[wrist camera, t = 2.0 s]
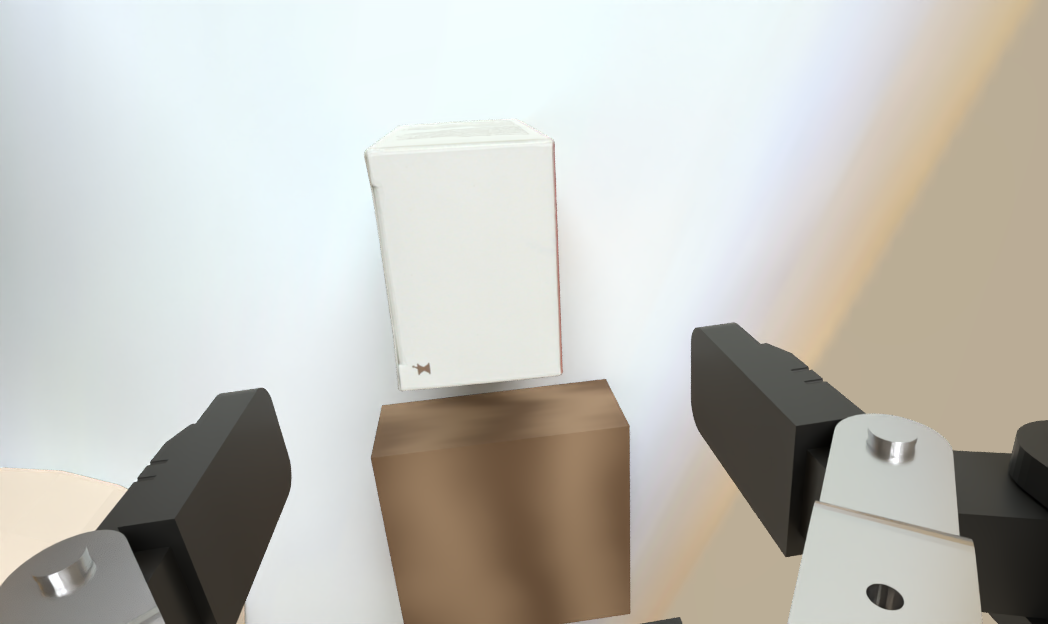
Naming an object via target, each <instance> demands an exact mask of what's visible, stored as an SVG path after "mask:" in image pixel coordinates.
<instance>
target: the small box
mask: <svg viewBox="0 0 1048 624" xmlns="http://www.w3.org/2000/svg"><path fill="white" fill-rule="evenodd" d="M364 157H365V162H366V167H367V171H368V176H369V181H370V186H371V191H372V196H373V202H374V209H375V215H376V221H377V227H378V234H379V241H380V248H381V255H382V261H383V268H384V275H385V281H386V288H387V295H388V303H389V310H390V317H391V324H392V331H393V338H394V348H395V358H396V368H397V378H398V389H399V390H400V391H409V390H420V389H432V388H442V387H453V386H463V385H473V384H483V383H493V382H503V381H514V380H524V379H533V378H542V377H550V376H560V375H561V374H562V373H563V369H562V344H561V313H560V285H559V257H558V230H557V204H556V174H555V142H554V141H553V139H552V138H550V137H548V136H547V135H545V134H543V133H541V132H539V131H538V130H536V129H534V128H532V127H531V126H529V125H527V124H525V123H524V122H522V121H520V120H518V119H496V120H477V121H460V122H444V123H429V124H415V125H401V126H398V127H396V128H395V129H394V130H392V131H391V132H389V133H388V134H386V135H385V136H384V137H383V138H381V139H380V140H378V141H377V142H376V143H374V144H373V145H372V146H370V147H369V148H368V149H366V150H365V153H364Z"/></svg>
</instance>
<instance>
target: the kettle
mask: <svg viewBox="0 0 1048 624" xmlns="http://www.w3.org/2000/svg"><path fill="white" fill-rule="evenodd" d="M127 490H128V489H127V488H124V487H122V486H120V485H118V484H114V483H110V482H106V481H101V480H97V479H93V478H89V477H85V476H81V475H77V474H73V473H69V472H65V471H58V470H39V469H20V468H0V586H1V585H2V583H3V582H4V581H5V580H6V579H7V577H8V576H9V575H10V574H11V573H12V572H13V571H14V570H16V569H17V568H18V567H19V566H20V565H22V564H23V563H24V562H25V561H27V560H28V559H30V558H31V557H33V556H34V555H36V554H37V553H39V552H41V551H42V550H44V549H46V548H48V547H50V546H52V545H54V544H56V543H58V542H60V541H62V540H65V539H67V538H70V537H73V536H75V535H78V534H82V533H86V532H90V531H95V530H96V529H97V528H98V526H99V525H100V524H101V523H102V521H103V520H104V519H105V518H106V516H107V515H108V514H109V513H110V511H111V510H112V509H113V508H114V506H115V505H116V504H117V503H118V501H119V500H120V499H121V498H122V496H123V495H124V494H125V493H126V491H127ZM236 624H245V612H244V606H243V609H242V611H241V613H240V616H239V618H238V621H237V623H236Z"/></svg>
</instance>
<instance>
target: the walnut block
mask: <svg viewBox="0 0 1048 624" xmlns="http://www.w3.org/2000/svg"><path fill="white" fill-rule="evenodd" d="M371 461H372V466H373V471H374V476H375V481H376V486H377V491H378V496H379V501H380V506H381V511H382V516H383V521H384V526H385V531H386V536H387V541H388V546H389V551H390V556H391V561H392V566H393V571H394V576H395V581H396V586H397V591H398V596H399V601H400V606H401V611H402V616H403V621H404V624H565V623H571V622H578V621H585V620H592V619H598V618H605V617H612V616H618V615H625V614H630V437H629V424H628V422H627V420H626V418H625V416H624V414H623V412H622V410H621V408H620V406H619V404H618V402H617V400H616V398H615V396H614V394H613V392H612V391H611V389H610V387H609V385H608V383H607V381H606V379H602V380H593V381H585V382H576V383H568V384H559V385H551V386H542V387H534V388H526V389H517V390H509V391H500V392H492V393H483V394H475V395H466V396H458V397H449V398H441V399H432V400H424V401H415V402H407V403H398V404H390V405H382V408H381V413H380V418H379V422H378V427H377V432H376V437H375V441H374V446H373V451H372V455H371Z"/></svg>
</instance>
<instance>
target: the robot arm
mask: <svg viewBox="0 0 1048 624" xmlns="http://www.w3.org/2000/svg"><path fill="white" fill-rule="evenodd" d="M691 406H692V412H693V417H694V420H695V423H696V426H697V428H698V430H699V432H700V434H701V435H702V437H703V438H704V440H705V441H706V443H707V444H708V445H709V447H710V448H711V450H712V451H713V453H714V454H715V456H716V457H717V458H718V460H719V461H720V463H721V464H722V466H723V467H724V469H725V470H726V471H727V473H728V474H729V476H730V477H731V479H732V480H733V482H734V483H735V484H736V486H737V487H738V489H739V490H740V492H741V493H742V495H743V496H744V497H745V499H746V500H747V502H748V503H749V505H750V506H751V508H752V509H753V511H754V512H755V513H756V515H757V516H758V518H759V519H760V521H761V522H762V523H763V525H764V526H765V528H766V529H767V531H768V532H769V534H770V535H771V537H772V538H773V539H774V541H775V542H776V544H777V545H778V547H779V548H780V550H781V551H782V552H783V554H784V555H785V557H790V556H796V555H801V554H803V556H802V560H801V565H800V570H799V574H798V578H797V583H796V587H795V592H794V596H793V601H792V605H791V610H790V614H789V619H788V623H787V624H983V622H982V613H981V612H986V613H989V614H990V615H991V617H992V618H993V619H994V620H995V621H996V622H997V623H998V624H1048V420H1045V421H1036V422H1031V423H1028V424H1025V425H1023V426H1022V427H1020V428H1019V430H1018V431H1017V434H1016V438H1015V442H1014V446H1013V451H1012V454H1009V453H988V452H969V451H953V450H952V448H951V446H950V444H949V442H948V441H947V440H946V439H945V438H944V437H943V436H941V435H940V434H939V433H938V432H936V431H934V430H933V429H931V428H929V427H927V426H925V425H923V424H921V423H918V422H915V421H913V420H909V419H906V418H902V417H898V416H893V415H886V414H866V413H864V412H863V411H862V410H861V409H859V408H858V407H857V406H856V405H854V404H853V403H852V402H851V401H850V400H848V399H847V398H846V397H845V396H843V395H842V394H841V393H840V392H839V391H837V390H836V389H835V388H834V387H832V386H831V385H830V384H829V383H827V382H823V379H822V378H821V377H820V376H819V375H818V374H816V373H815V372H814V371H813V370H809V368H808V366H807V365H805V364H804V363H803V362H802V361H800V360H799V359H798V358H797V357H795V356H794V355H793V354H792V353H790V352H787V351H785V350H782V349H780V348H777V347H775V346H772V345H770V344H767V343H764V344H760V343H759V342H758V341H756V340H755V339H754V338H753V337H752V336H751V335H750V334H748V333H747V332H746V331H745V330H744V329H743V328H741V327H740V326H739V325H738V324H737V323H727V324H720V325H713V326H705V327H698V328H695V329H694V330H693V333H692V338H691ZM150 463H151V465H149V466H147V467H146V468H145V469H144V470H143V472H142V473H141V474H140V475H139V477H138V478H137V479H138V481H137V482H134V483H133V484H132V485H131V487H130V488H129V489H128V490H127V491H126V493H125V494H124V495H123V496H122V498H121V499H120V500H119V501H118V503H117V504H116V505H115V506H114V508H113V509H112V510H111V511H110V513H109V514H108V515H107V516H106V518H105V519H104V520H103V521H102V523H101V524H100V525H99V526H98V528H97V529H96V530H95V531H90V532H86V533H82V534H78V535H75V536H73V537H70V538H67V539H65V540H62V541H60V542H58V543H56V544H54V545H52V546H50V547H48V548H46V549H44V550H42V551H41V552H39V553H37V554H36V555H34V556H33V557H31V558H30V559H28V560H27V561H25V562H24V563H23V564H22V565H20V566H19V567H18V568H17V569H16V570H14V571H13V572H12V573H11V574H10V575H9V576H8V577H7V579H6V580H5V581H4V582H3V583H2V585H1V586H0V624H236V623H237V621H238V618H239V616H240V613H241V611H242V609H243V606H244V604H245V601H246V599H247V596H248V594H249V591H250V589H251V586H252V584H253V581H254V579H255V576H256V574H257V571H258V569H259V567H260V564H261V562H262V559H263V557H264V554H265V552H266V549H267V547H268V544H269V542H270V539H271V537H272V534H273V532H274V530H275V527H276V525H277V522H278V520H279V517H280V515H281V512H282V510H283V507H284V505H285V502H286V500H287V497H288V495H289V492H290V487H291V465H290V460H289V456H288V452H287V449H286V446H285V442H284V439H283V436H282V432H281V429H280V426H279V422H278V419H277V416H276V412H275V409H274V406H273V402H272V400H271V397H270V395H269V393H268V392H267V390H266V389H264V388H257V389H250V390H242V391H235V392H228V393H221V394H219V395H217V396H216V398H215V399H214V400H213V402H212V403H211V404H210V406H209V407H208V408H207V410H206V411H205V412H204V413H203V415H202V416H201V417H200V419H199V420H198V421H197V423H196V424H191V425H189V426H188V427H187V428H185V429H184V430H182V431H181V432H180V433H178V434H177V435H176V436H174V437H173V438H171V439H170V440H169V441H167V442H166V443H165V444H164V445H163V447H162V448H161V449H160V450H159V452H158V453H157V454H156V455H155V457H154V458H153V459H152V460H151V462H150ZM642 624H682V621H681V619H680V617H678V618H672V619H666V620H660V621H654V622H648V623H642Z"/></svg>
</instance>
